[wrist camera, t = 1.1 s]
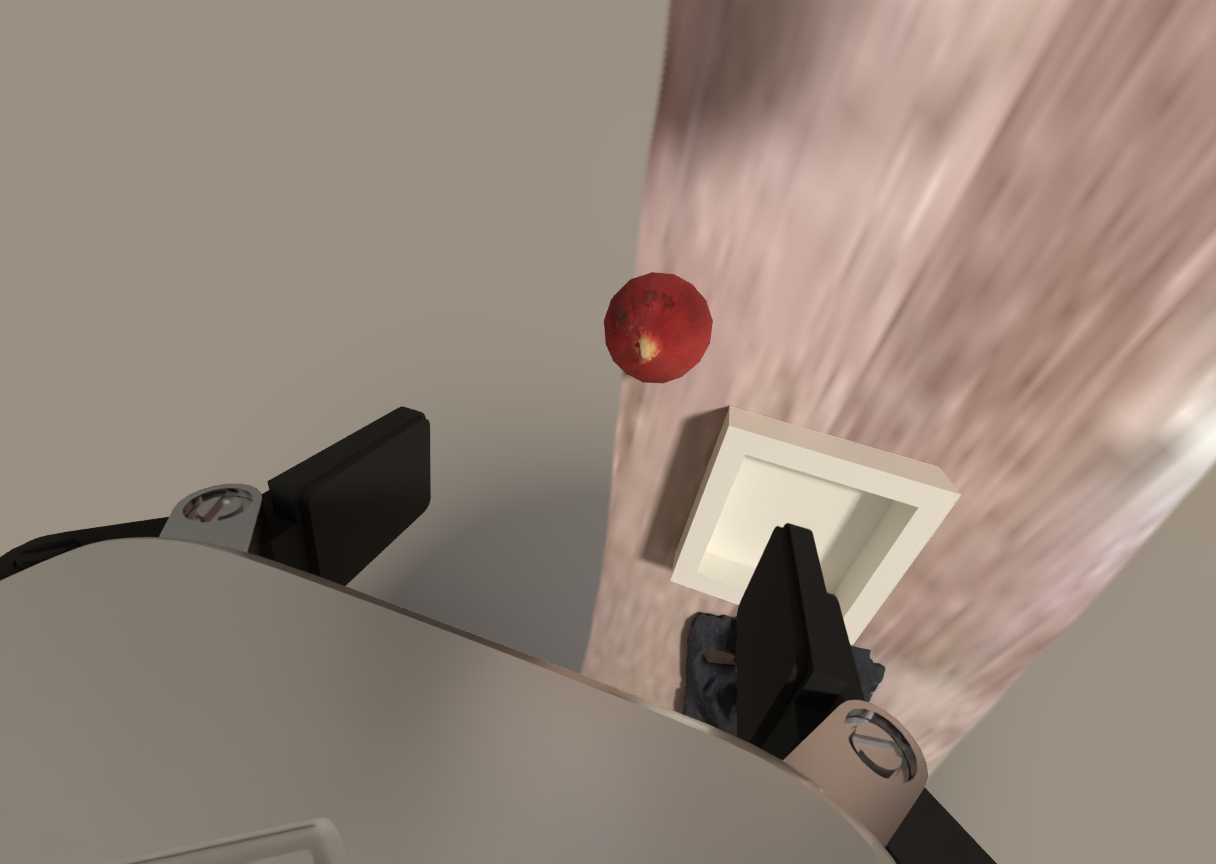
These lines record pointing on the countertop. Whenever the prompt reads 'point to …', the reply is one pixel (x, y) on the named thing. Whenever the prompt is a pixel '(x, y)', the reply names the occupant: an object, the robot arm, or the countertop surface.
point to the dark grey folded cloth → (717, 683)
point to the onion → (657, 327)
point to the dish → (809, 511)
